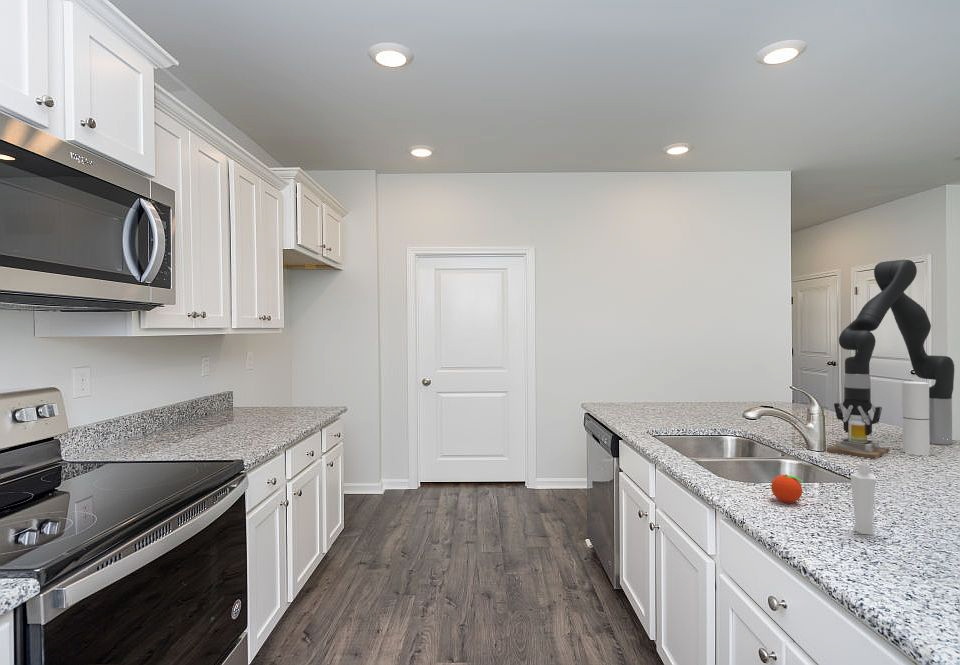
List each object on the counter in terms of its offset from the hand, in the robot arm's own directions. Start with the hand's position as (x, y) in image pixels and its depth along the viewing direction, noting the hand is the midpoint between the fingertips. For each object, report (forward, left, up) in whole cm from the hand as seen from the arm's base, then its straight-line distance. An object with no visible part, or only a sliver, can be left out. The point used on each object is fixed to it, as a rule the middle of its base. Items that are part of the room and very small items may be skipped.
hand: (857, 433), depth 179 cm
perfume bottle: (+80, +25, -7) cm, 84 cm away
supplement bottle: (0, 0, -3) cm, 3 cm away
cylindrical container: (-13, +13, -7) cm, 20 cm away
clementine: (+73, +7, -7) cm, 74 cm away
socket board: (0, 0, -7) cm, 7 cm away
